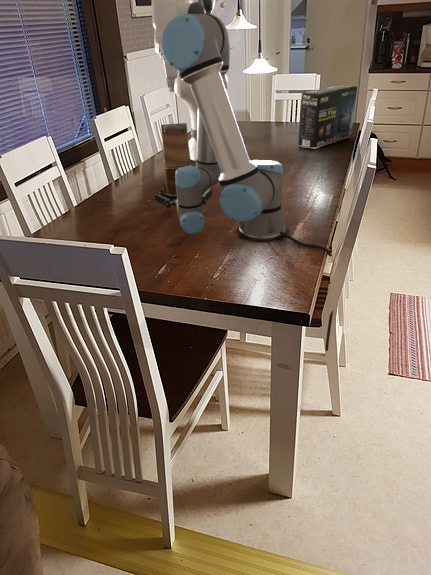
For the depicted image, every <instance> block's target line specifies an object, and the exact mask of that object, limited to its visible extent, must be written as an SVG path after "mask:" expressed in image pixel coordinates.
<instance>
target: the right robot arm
mask: <svg viewBox="0 0 431 575" xmlns="http://www.w3.org/2000/svg"><path fill="white" fill-rule="evenodd" d="M161 46H162V52H163V55H164V57H165V59H166V61H167V62H168V63H169V64H170V65H171V66H173V67H174V68H176V69H177V70H178V75H180V78H181V80H182V81H183V82H185V83H187V84H189V86H190V88H191V91H192V94H193V96H194V99H195V102H196V104H197V107H198V123H197V158H196V161H195V165H191V166H184V167H181V168H178V169H177V170H176V172H175V177H176V180H175V184H176V191H177V195H171V194H167V192H166V189H165V185H161V190H160V189H159V192H157V193H154V197H155V198H154V199H155V202H157V203H158V204H161V205H163V206H165V208H167V209H170V208H171V206H174V207H175V209H176V213H177V216H178V220H179V226H180V228H181V229H182V231H183V232H184V233H185V234H187V235H190V236H191V235H192V236H194V235H198V234H200V233H202V232H203V230H204V229H205V227H206V226H205V224H206V221H205V219H206V218H205V217H204V210H203V205H206V204H207V201H208V200H209V199H210V198H211V197H212V196H213V189H212V187H214V186H216V185H217V184H218V183H219V186H220V189H221V192H220V195H219V199H218V200H219V207H220V209H221V211H222V212H223V213H224V215H225V216H226V217H227V218H229V219H231V220H233V221H234V222H237V223H238V225H239V226H238V232H239V235H240V236H241V237H242V238H244V239H247V240H250V241H254V242H271V241H277V240H279V239H281V238H283V237H285V238H286V239H288V240H290V241H292V242H293V243H295V244H297V245H298V246H299V245H300V246H301V247H307V248H316V249H320V250H323V251H324V252H325V253H326V254H327V256H329V257H333V254H332V252H331V251H330V250H329V249H328V248H327V247H326V246H323V245H318V244H314V243H304V242H302V241H300V240H298V239H296V238H294V237H293V236H291V235H289V234H288V233H287V223H286V221H285V216H284V214H283V210H282V200H283V181H284V180H283V179H284V168H283V167H284V166H283V164H282V163H281V162H279V161H276V160H270V159H252V160H251V159H250V157H249V154H248V152H247V148H246V144H245V142H244V139H243V136H242V133H241V130H240V127H239V125H238V121H237V119H236V116H235V113H234V109H233V107H232V104H231V101H230V97H229V95H228V91H227V90H226V89H225V86H224V83H225V75H226V74H227V73H228V72H229V71H230V60H231V58H230V57H231V41H230V36H229V32H228V29H227V26H226V24H225V23H224V22H223V21H222V20H221V19H220V18H219V17H218V16H217V15H214V14H212V13H211V14H208V13H204V14H184V15H181V16H177V17H175V18H173V19H172V20H170V21H169V22H168V24H167V25H166V27H165V29H164V32H163V35H162V40H161ZM333 315H334V310H332V311H331V313H330V314H329V315H328V316H329V317H328V324H327V331H326V340H325V352H328V351H329V345H330V337H331V329H332V321H333V317H334V316H333Z"/></svg>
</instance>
